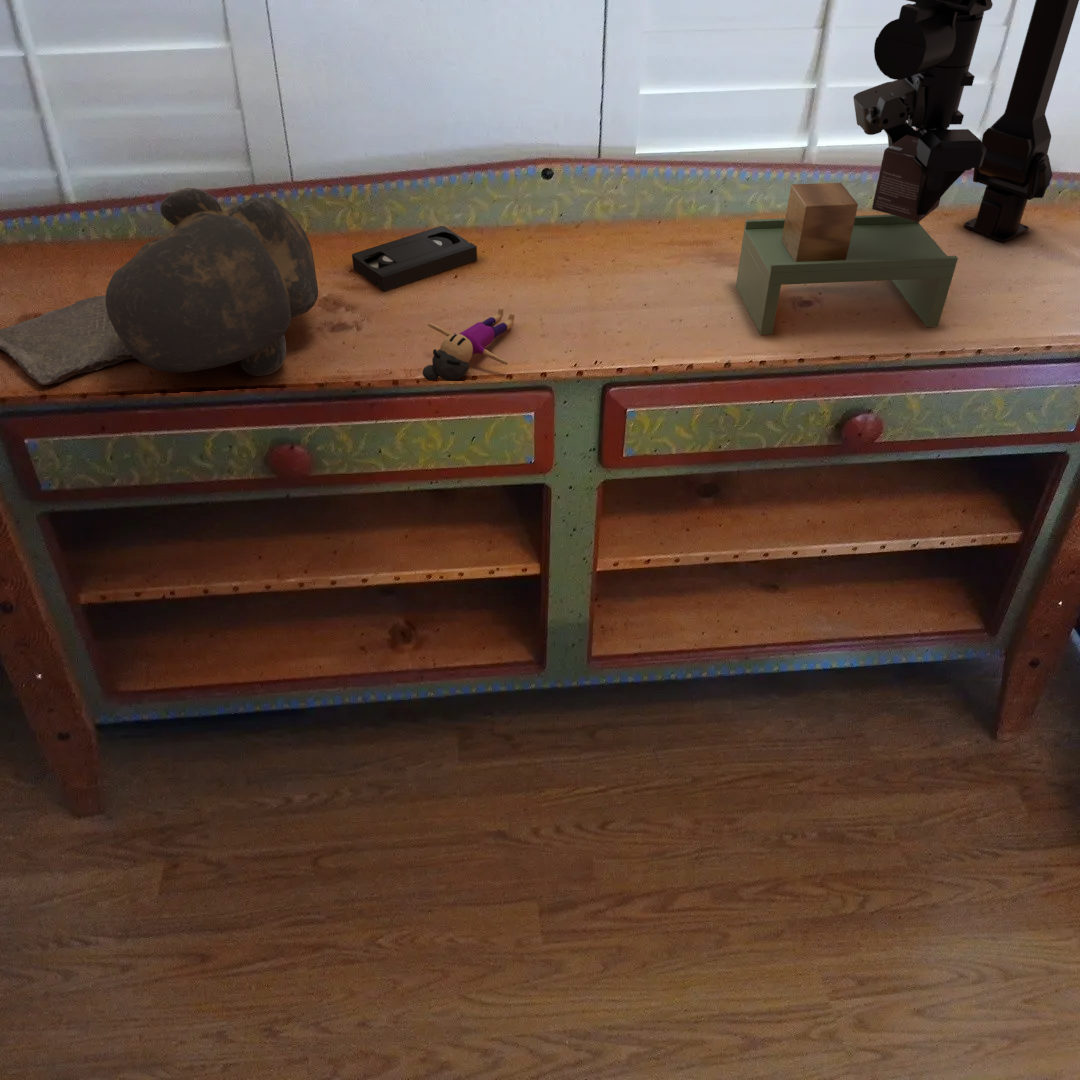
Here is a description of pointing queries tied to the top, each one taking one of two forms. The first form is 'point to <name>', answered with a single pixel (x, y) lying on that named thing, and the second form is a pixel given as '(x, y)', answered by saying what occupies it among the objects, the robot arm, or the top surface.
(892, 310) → the top surface
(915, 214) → the box
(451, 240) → the vhs tape
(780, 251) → the shelf
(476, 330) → the toy
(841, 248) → the wooden block
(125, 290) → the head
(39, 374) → the stone
